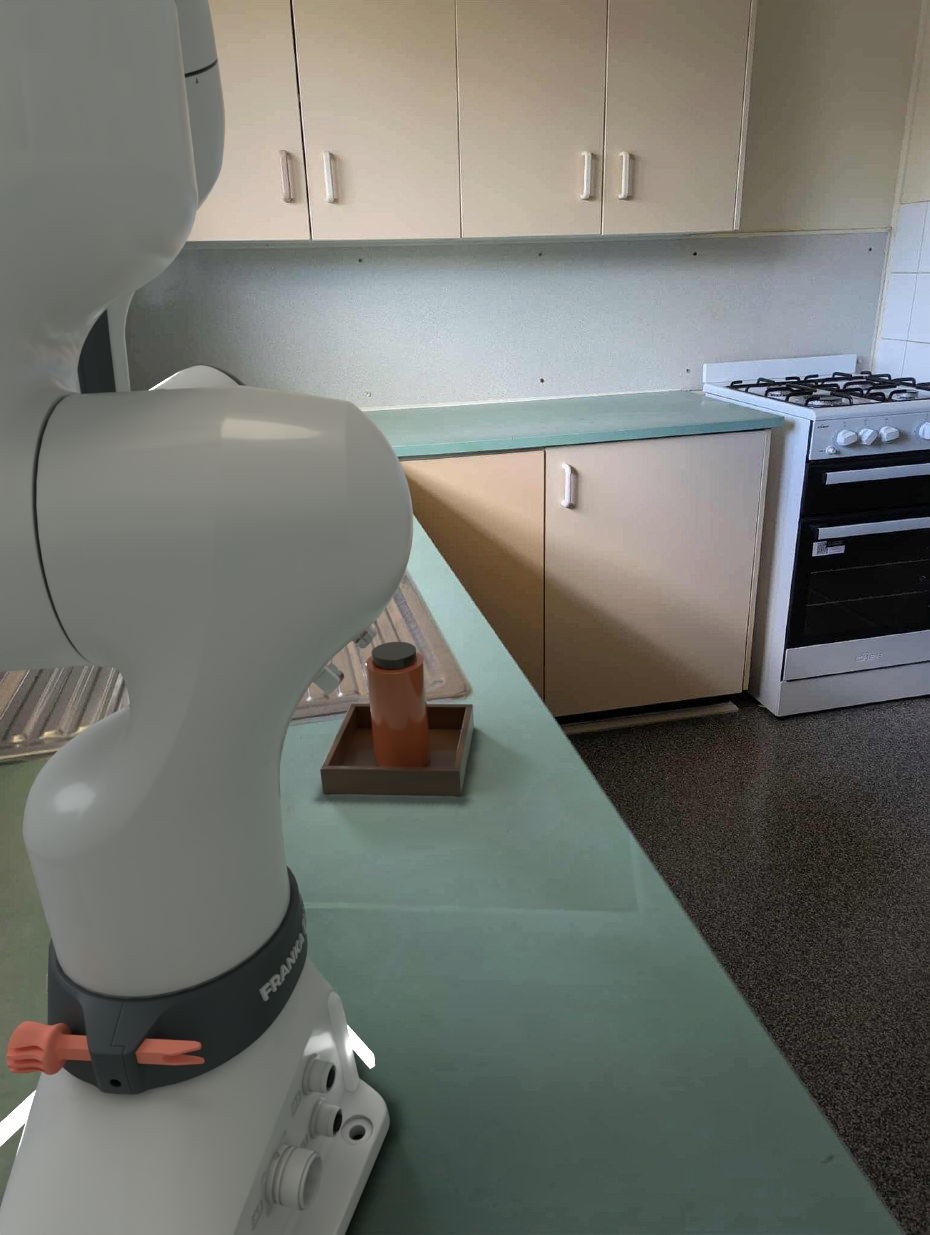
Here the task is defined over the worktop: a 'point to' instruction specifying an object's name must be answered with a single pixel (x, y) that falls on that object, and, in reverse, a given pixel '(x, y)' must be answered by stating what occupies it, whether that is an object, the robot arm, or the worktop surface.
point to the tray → (360, 775)
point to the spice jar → (398, 705)
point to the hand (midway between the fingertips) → (355, 662)
